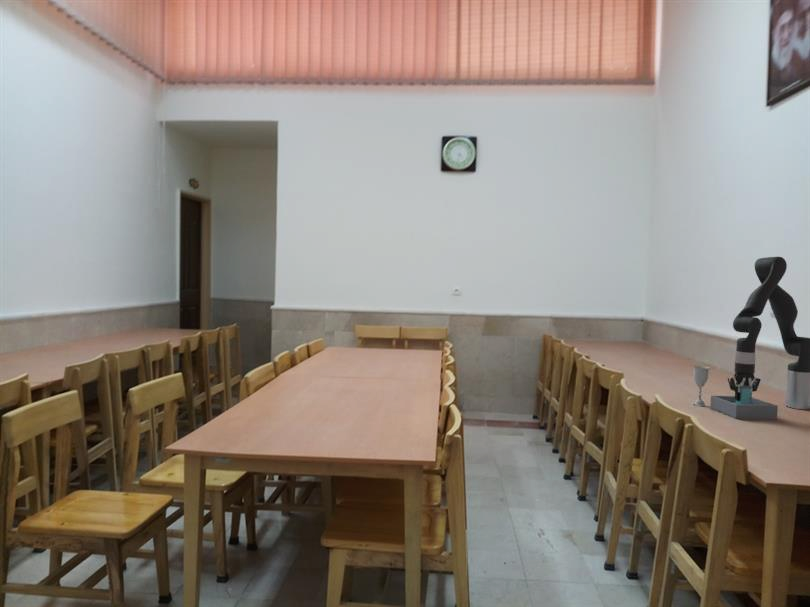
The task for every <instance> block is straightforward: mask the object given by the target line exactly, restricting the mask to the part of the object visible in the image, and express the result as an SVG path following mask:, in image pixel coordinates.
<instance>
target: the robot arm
mask: <svg viewBox="0 0 810 607" xmlns="http://www.w3.org/2000/svg"><path fill="white" fill-rule="evenodd" d="M787 265H788V264H787V260H786V259H785V258H784V257H782V256H770V257H769V256H768V257H759V258H758V259H756V260H755V263H754V270H755V274H756V276H757V278H758V281H759V282H760V285H759V286H758V287H757V288H756V289H754V290H753V291H752V293H750V295H749V297H748V299H747V301H746V303H745V305H744V307H743V309H741V311H740V312H739V313H738V314H737V315H736V316H735V317H734V320H733V322H732V328H733V330H734V331H735V332H738V333H746V334H748V335H746V337H740V338H738V339H737V340H736V350H735V352H736V353H735V356H734V375H733V376H731V377H729V376H728V377H727V382H728V385H729V386H728V387H729V388H730V390H731V391H733V392H734V396H735V399H736V400H737V401H740V394H741V393H740V391H741V387H742V386H743V385H748V386H752V389H751V398H752V395H753V392H757V390H758V388H759V386H760V382H761V378H759V377H755V371H756V370H755V369H756V345H757V343H756V342H757V340H758V338H759V334H760V333H761V330H762V326H763V325H762V321H761V320H760V318H759V317H760V316H762V314H763V312H764V309H765V308H766V305H767V303H768V302H769V305H770V308H771V310H772V314H773V315H774V318H775V320H776V323H777V326H778V329H779V331H780V336H781V340H782V344H783V347H784V351H785V352H786V353H787V354H788V355H790V356H795V357H798V359H797V361H795V362H791V363H788V364H787V373H786V388H785V389H786V390H785V391H786V392H785V407H787V406H788V408H790V407H791V409H797V410H810V337H805V336H797V333H796V331H795V328H794V325H795V323H796V321H797V320H796V319H797V317H798V313H799V312H798V307H797V304H796V302H795V299H794V298H793V296H792V295H791V294H789V292H787V291H786V290H784V288H782V287H781V286H780V285H779V283H780V281H781V280H782V279H783V277H784V275H785V273H786V271H787V268H788V267H787ZM739 384H740V385H739Z"/></svg>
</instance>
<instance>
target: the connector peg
mask: <svg viewBox="0 0 810 607" xmlns="http://www.w3.org/2000/svg"><path fill="white" fill-rule="evenodd" d="M739 385H740V384H739ZM751 389H752V386H748V385H743V386H742V387H741V391H740V393H741V394H740V401H737V400H736V401H735V404H738V405H750V400H751Z"/></svg>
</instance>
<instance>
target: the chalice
mask: <svg viewBox="0 0 810 607" xmlns="http://www.w3.org/2000/svg"><path fill="white" fill-rule="evenodd" d="M692 368H693V374H692V376H693V380H694V382H695V385H696V386H697V387H698V390H697V391H698V393H697V396H698V398H697V399H695V400H694V403H693V404H695V405H694V406H696V405H700V406H699V407H706V405H705V401H704V400H703V399H702V395H703V394H702V391H703V390H702V387H705V385H706V384H707V381H708V380H709V370H710V366H704V365H703V366H702V365H692Z"/></svg>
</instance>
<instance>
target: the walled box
mask: <svg viewBox="0 0 810 607" xmlns="http://www.w3.org/2000/svg"><path fill="white" fill-rule="evenodd" d="M735 401H736V399H735V395H710V406H709V407H710V408H711V409H710V410H712V409H713V411H715V410H716V411H715V412H717V411H718V413H720V414H722V413H723V415H725V416H727V415H728V417H730V418H732V417H733V418H732V419H735V420H775V419H777V420H778V408H779V407H778V406H779V405H777V404H774V403H772V402H769V401H768V402H767V401H765V400H761V399H758V398H756V397H752V398H751V400H750V405H738V404H735Z"/></svg>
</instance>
